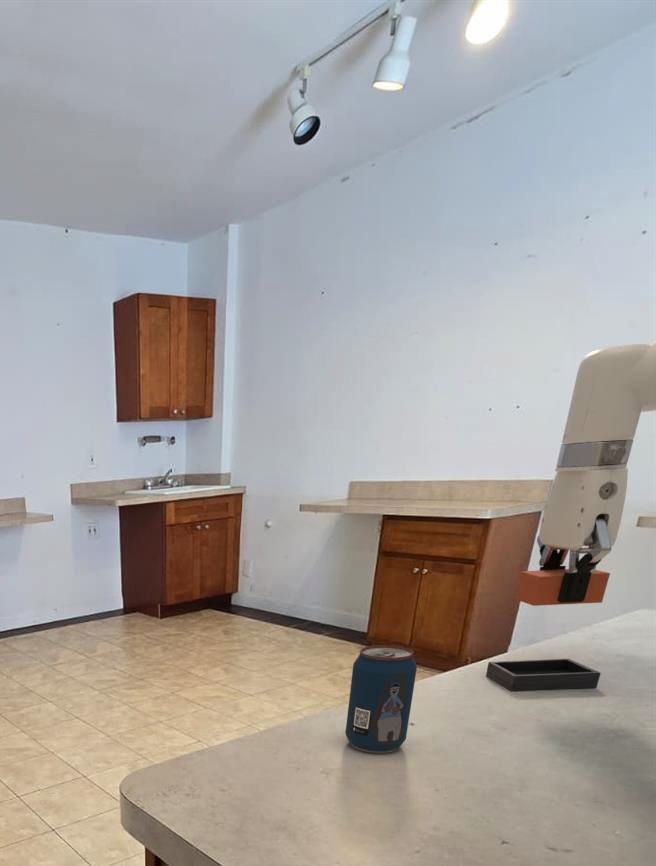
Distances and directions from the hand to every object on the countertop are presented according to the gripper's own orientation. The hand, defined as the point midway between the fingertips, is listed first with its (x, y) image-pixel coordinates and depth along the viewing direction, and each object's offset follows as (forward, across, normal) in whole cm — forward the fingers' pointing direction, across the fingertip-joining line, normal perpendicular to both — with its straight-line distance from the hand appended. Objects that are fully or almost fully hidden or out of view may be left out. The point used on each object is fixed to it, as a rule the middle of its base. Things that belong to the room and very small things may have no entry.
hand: (558, 596), depth 91 cm
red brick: (+1, 0, 0) cm, 1 cm away
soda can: (+13, -22, +31) cm, 40 cm away
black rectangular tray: (+13, 0, 0) cm, 13 cm away
